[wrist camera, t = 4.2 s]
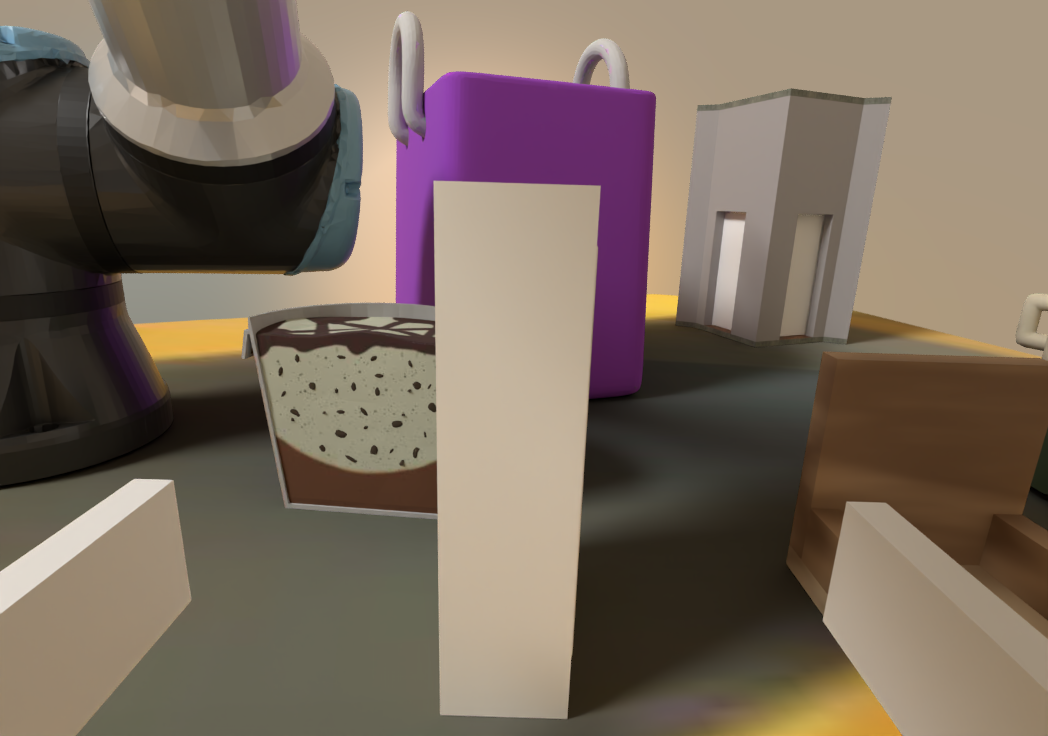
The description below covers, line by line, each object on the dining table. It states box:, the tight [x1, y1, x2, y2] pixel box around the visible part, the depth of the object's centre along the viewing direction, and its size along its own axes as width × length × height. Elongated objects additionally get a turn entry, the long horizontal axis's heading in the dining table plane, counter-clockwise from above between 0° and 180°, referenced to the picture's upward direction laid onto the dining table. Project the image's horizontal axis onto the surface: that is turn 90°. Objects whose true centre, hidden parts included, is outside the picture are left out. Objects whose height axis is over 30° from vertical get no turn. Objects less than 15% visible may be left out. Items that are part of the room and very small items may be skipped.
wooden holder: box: [786, 352, 1048, 639], centre depth 18 cm, size 14×9×10 cm, turn 179°
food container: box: [242, 303, 438, 519], centre depth 31 cm, size 12×6×10 cm, turn 85°
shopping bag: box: [388, 11, 656, 399], centre depth 54 cm, size 28×22×30 cm
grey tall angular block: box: [676, 89, 892, 347], centre depth 69 cm, size 21×10×28 cm, turn 64°
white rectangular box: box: [434, 181, 601, 719], centre depth 20 cm, size 8×4×16 cm, turn 179°
